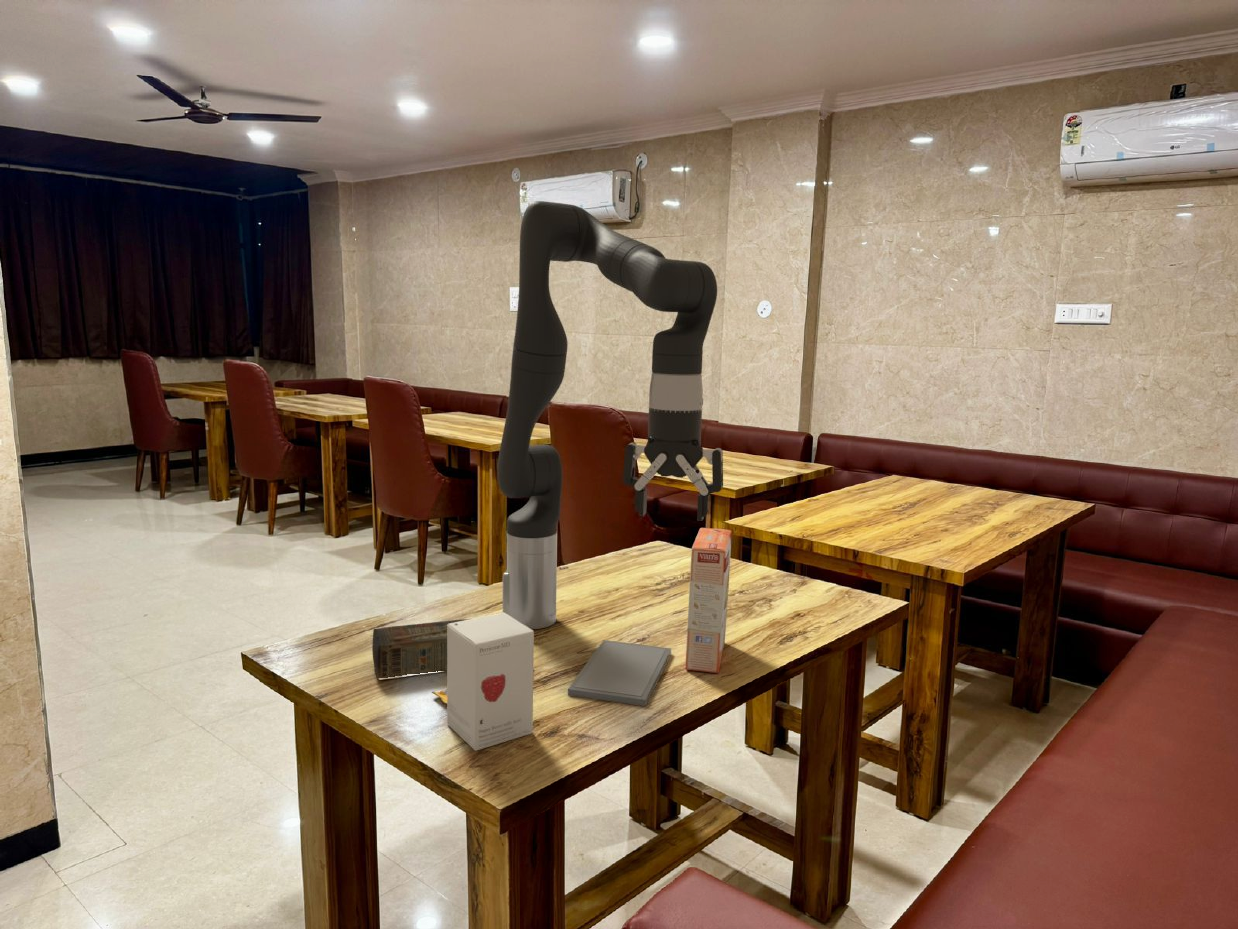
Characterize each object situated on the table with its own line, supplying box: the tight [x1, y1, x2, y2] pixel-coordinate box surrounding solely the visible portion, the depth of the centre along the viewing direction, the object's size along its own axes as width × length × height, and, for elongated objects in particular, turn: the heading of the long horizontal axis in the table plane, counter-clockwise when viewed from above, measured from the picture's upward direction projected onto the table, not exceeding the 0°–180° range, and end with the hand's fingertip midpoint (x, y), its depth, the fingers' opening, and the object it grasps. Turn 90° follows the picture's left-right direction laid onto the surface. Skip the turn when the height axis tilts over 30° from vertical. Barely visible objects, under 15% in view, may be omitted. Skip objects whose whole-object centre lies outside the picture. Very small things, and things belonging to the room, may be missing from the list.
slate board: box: [567, 639, 672, 707], centre depth 131 cm, size 20×12×1 cm, turn 165°
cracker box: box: [684, 527, 733, 674], centre depth 137 cm, size 14×6×21 cm, turn 168°
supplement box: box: [446, 611, 535, 752], centre depth 111 cm, size 9×9×15 cm
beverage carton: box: [371, 618, 470, 679], centre depth 132 cm, size 8×19×7 cm, turn 113°
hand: (671, 517), depth 118 cm, fingers open, 8 cm apart
